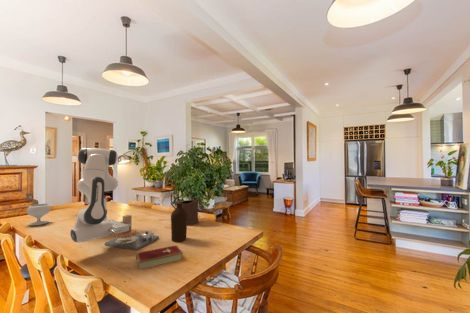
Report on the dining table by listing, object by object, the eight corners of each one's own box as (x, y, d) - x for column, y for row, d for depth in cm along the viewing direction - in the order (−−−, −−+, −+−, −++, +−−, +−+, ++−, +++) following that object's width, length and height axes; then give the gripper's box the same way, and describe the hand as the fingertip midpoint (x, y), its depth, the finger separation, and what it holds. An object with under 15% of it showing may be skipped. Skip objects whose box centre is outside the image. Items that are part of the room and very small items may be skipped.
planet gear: (112, 238, 130) (113, 218, 131) (122, 232, 142) (122, 214, 142) (131, 238, 130) (132, 218, 131) (139, 232, 142) (140, 214, 142)
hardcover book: (136, 260, 112) (136, 252, 113) (176, 251, 123) (176, 244, 123) (139, 270, 102) (139, 261, 102) (182, 260, 113) (182, 252, 113)
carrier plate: (104, 245, 131) (104, 236, 131) (129, 234, 150) (129, 226, 150) (137, 250, 124) (137, 240, 124) (158, 238, 143) (159, 229, 143)
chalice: (47, 220, 184) (47, 202, 184) (52, 223, 176) (52, 204, 176) (24, 224, 173) (25, 205, 173) (29, 227, 165) (29, 207, 165)
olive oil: (185, 242, 136) (185, 203, 136) (168, 242, 136) (168, 202, 136) (188, 236, 146) (189, 199, 147) (173, 236, 147) (173, 199, 147)
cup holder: (197, 226, 171) (197, 194, 171) (167, 225, 171) (167, 194, 172) (201, 219, 189) (201, 191, 190) (174, 219, 190) (174, 191, 190)
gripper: (113, 226, 120) (137, 220, 131) (97, 220, 132) (120, 215, 143) (113, 237, 120) (137, 231, 131) (97, 230, 131) (120, 225, 143)
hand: (128, 223), depth 137 cm, fingers closed on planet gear, 5 cm apart
